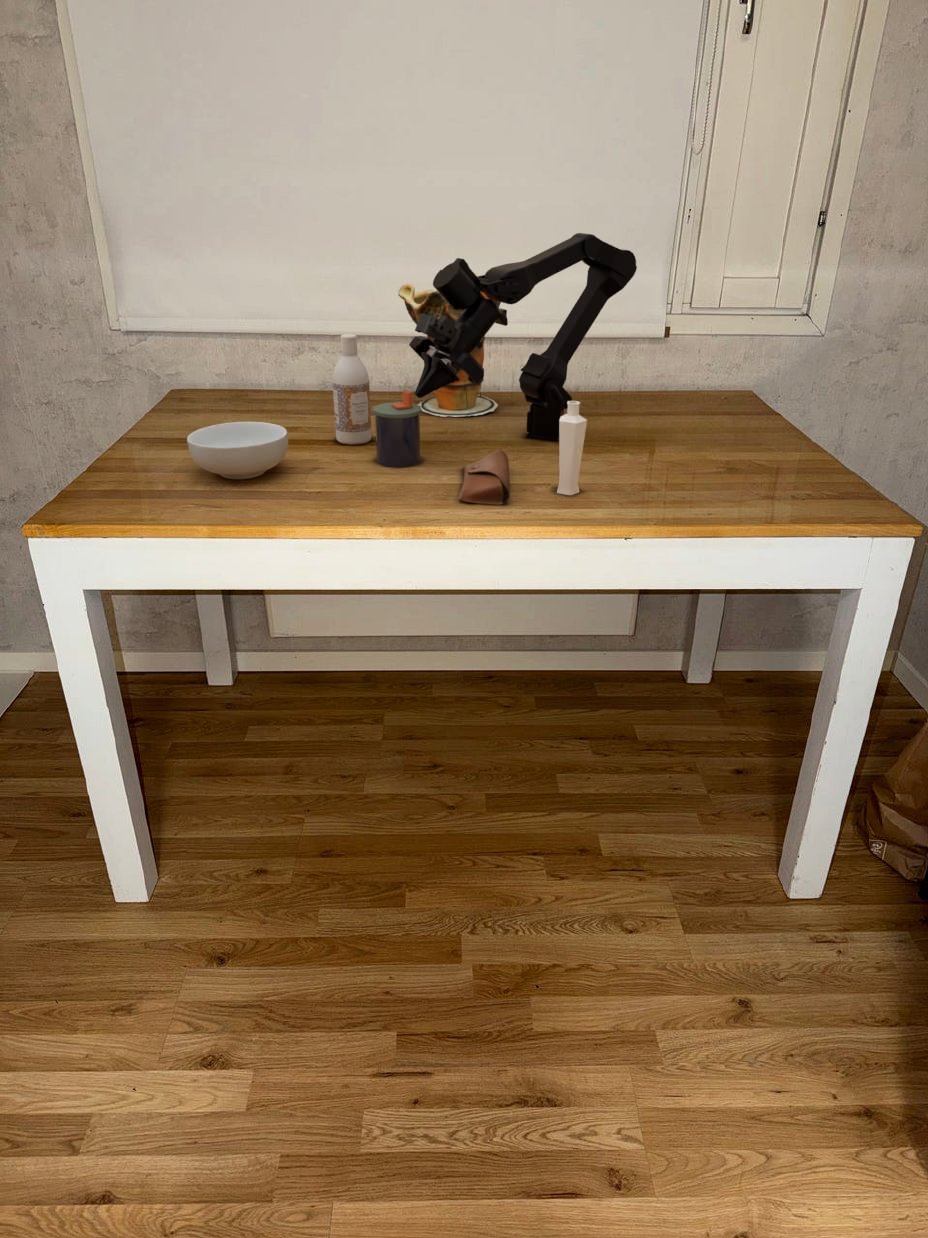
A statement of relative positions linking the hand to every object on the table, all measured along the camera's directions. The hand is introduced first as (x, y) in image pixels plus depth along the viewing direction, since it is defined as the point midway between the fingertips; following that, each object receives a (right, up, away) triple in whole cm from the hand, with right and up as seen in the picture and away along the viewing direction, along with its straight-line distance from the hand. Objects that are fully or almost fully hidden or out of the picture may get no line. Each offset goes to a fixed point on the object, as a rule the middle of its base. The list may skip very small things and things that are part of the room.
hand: (417, 396), depth 155 cm
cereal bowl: (-31, -15, -3) cm, 34 cm away
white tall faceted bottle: (+26, -19, -10) cm, 34 cm away
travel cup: (-4, -11, +4) cm, 12 cm away
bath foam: (-13, -5, +14) cm, 20 cm away
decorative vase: (+6, +7, +37) cm, 38 cm away
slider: (-4, -2, -1) cm, 4 cm away
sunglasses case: (+12, -18, -8) cm, 23 cm away
